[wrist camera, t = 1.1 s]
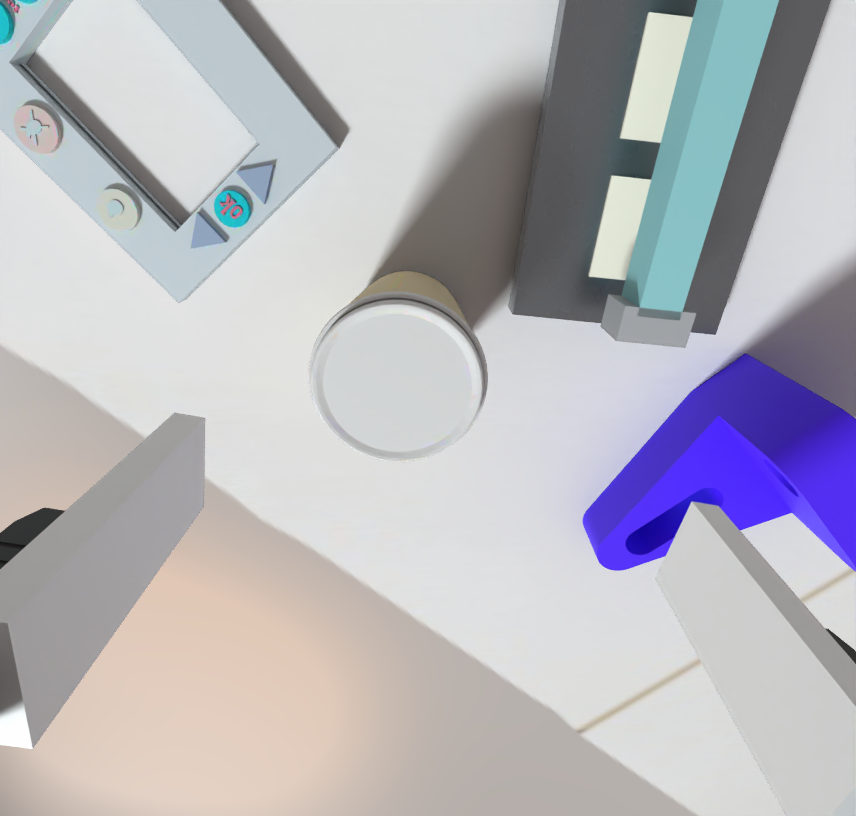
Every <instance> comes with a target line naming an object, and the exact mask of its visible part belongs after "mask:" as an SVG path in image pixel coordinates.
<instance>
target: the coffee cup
mask: <svg viewBox="0 0 856 816" xmlns="http://www.w3.org/2000/svg"><path fill="white" fill-rule="evenodd" d="M487 384H488V373H487V364H486V360H485V356H484V353H483V350H482V347H481V345H480V343H479V341H478V339H477V337H476V336H475V334H474V333H473V331H472V330H471V328H470V327H469V325H468V323H467V321H466V319H465V317H464V315H463V313H462V311H461V309H460V307H459V305H458V303H457V302H456V300H455V298H454V297H453V296H452V294H451V293H450V292H449V290H448V289H447V288H446V287H445V286H444V285H443V284H442V283H440V282H439V281H437V280H436V279H434V278H432V277H430V276H428V275H426V274H423V273H419V272H413V271H399V272H394V273H390V274H388V275H385V276H383V277H381V278H379V279H378V280H376V281H375V282H373V283H372V284H371V285H369V286H368V287H367V288H366V289H365V290H364V291H363V292H362V293H361V294H360V295H358V296H357V297H356V298H355V299H354V300H353V301H352V302H351V303H350V304H349V305H347V306H346V307H345V308H343V309H342V310H341V311H339V312H338V313H337V314H336V315H335V316H334V317H332V318H331V319H330V321H329V322H328V323H327V324H326V325H325V327H324V328H323V330H322V331H321V333H320V334H319V336H318V338H317V340H316V342H315V344H314V347H313V350H312V353H311V358H310V363H309V386H310V392H311V396H312V399H313V402H314V405H315V407H316V409H317V411H318V413H319V415H320V416H321V418H322V420H323V421H324V423H325V424H326V425H327V426H328V428H329V429H330V430H331V432H332V433H333V434H334V435H335V436H336V437H338V438H339V439H340V440H341V441H342V442H343V443H345V444H346V445H348V446H349V447H351V448H352V449H354V450H356V451H358V452H359V453H362V454H364V455H367V456H369V457H373V458H376V459H380V460H385V461H393V462H405V461H414V460H419V459H423V458H427V457H430V456H432V455H435V454H437V453H439V452H441V451H443V450H445V449H446V448H448V447H449V446H451V445H453V444H454V443H455V442H456V441H458V440H459V439H460V438H461V437H462V436H463V435H464V434H465V433H466V432H467V431H468V430H469V429H470V428H471V426H472V425H473V423H474V422H475V420H476V419H477V417H478V415H479V413H480V411H481V409H482V406H483V404H484V400H485V396H486V391H487Z"/></svg>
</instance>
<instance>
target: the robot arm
mask: <svg viewBox="0 0 856 816" xmlns="http://www.w3.org/2000/svg"><path fill="white" fill-rule="evenodd" d="M204 469H205V418H202V417H196V416H191V415H185V414H179V413H174V414H173V415H172V416H171V417H170V418H168V419H167V420H166V421H165V422H164V423H163V424H162V425H161V426H159V427H158V428H157V429H156V430H155V431H154V432H153V433H152V434H151V435H149V436H148V437H147V438H146V439H145V440H144V441H143V442H142V443H141V444H139V445H138V446H137V447H136V448H135V449H134V450H133V451H132V452H130V453H129V454H128V455H127V456H126V457H125V458H124V459H123V460H122V461H121V462H119V463H118V464H117V465H116V466H115V467H114V468H113V469H112V470H110V471H109V472H108V473H107V474H106V475H105V476H104V477H103V478H102V479H101V480H99V481H98V482H97V483H96V484H95V485H94V486H93V487H91V488H90V489H89V490H88V491H87V492H86V493H85V494H84V495H83V496H82V497H80V498H79V499H78V500H77V501H76V502H75V503H74V504H73V505H71V506H70V507H69V508H68V509H67V510H66V511H63V510H57V509H50V508H42V509H40V510H38V511H36V512H34V513H32V514H30V515H27V516H25V517H23V518H21V519H19V520H17V521H15V522H14V523H12V524H11V525H10V526H8V527H7V528H6V529H5V530H3V531H2V532H1V533H0V745H7V746H14V747H22V748H30V749H33V748H34V746H35V745H36V744H37V742H38V741H39V739H40V738H41V736H42V735H43V733H44V732H45V731H46V729H47V728H48V726H49V725H50V723H51V722H52V721H53V719H54V718H55V717H56V715H57V714H58V712H59V711H60V710H61V708H62V707H63V705H64V704H65V702H66V701H67V700H68V698H69V696H70V695H71V694H72V693H73V691H74V690H75V688H76V687H77V685H78V684H79V683H80V681H81V680H82V678H83V677H84V675H85V674H86V673H87V671H88V670H89V668H90V667H91V666H92V664H93V663H94V661H95V660H96V659H97V657H98V656H99V654H100V653H101V651H102V650H103V649H104V647H105V646H106V644H107V643H108V642H109V640H110V639H111V637H112V636H113V634H114V633H115V632H116V630H117V629H118V627H119V626H120V625H121V623H122V622H123V620H124V619H125V617H126V616H127V614H128V613H129V612H130V610H131V609H132V607H133V606H134V605H135V603H136V602H137V600H138V599H139V598H140V596H141V595H142V593H143V592H144V590H145V589H146V588H147V586H148V585H149V584H150V582H151V581H152V579H153V578H154V576H155V575H156V574H157V572H158V571H159V569H160V568H161V567H162V565H163V564H164V562H165V561H166V559H167V558H168V557H169V555H170V554H171V552H172V551H173V549H174V548H175V547H176V545H177V544H178V542H179V541H180V540H181V538H182V537H183V535H184V534H185V532H186V531H187V530H188V528H189V527H190V525H191V524H192V523H193V521H194V519H195V518H196V517H197V516H198V514H199V513H200V511H201V510H202V508H203V507H204ZM655 579H656V581H657V583H658V585H659V587H660V588H661V590H662V592H663V594H664V596H665V597H666V599H667V601H668V603H669V605H670V607H671V608H672V610H673V612H674V614H675V616H676V617H677V619H678V621H679V623H680V625H681V626H682V628H683V630H684V632H685V634H686V636H687V637H688V639H689V641H690V643H691V645H692V646H693V648H694V650H695V652H696V654H697V655H698V657H699V659H700V661H701V663H702V665H703V666H704V668H705V670H706V672H707V674H708V675H709V677H710V679H711V681H712V683H713V684H714V686H715V688H716V690H717V692H718V694H719V695H720V697H721V699H722V701H723V703H724V704H725V706H726V708H727V710H728V712H729V713H730V715H731V717H732V719H733V721H734V723H735V724H736V726H737V728H738V730H739V732H740V733H741V735H742V737H743V739H744V741H745V742H746V744H747V746H748V748H749V750H750V752H751V753H752V755H753V757H754V759H755V761H756V762H757V764H758V766H759V768H760V770H761V771H762V773H763V775H764V777H765V779H766V781H767V782H768V784H769V786H770V788H771V790H772V791H773V793H774V795H775V797H776V799H777V800H778V802H779V804H780V806H781V808H782V810H783V811H784V813H785V815H786V816H856V651H855V650H854V649H853V648H851V647H850V646H849V645H848V644H846V643H845V642H844V641H843V640H841V639H840V638H839V637H838V636H836V635H835V634H834V633H833V632H831V631H830V630H829V629H825V628H824V627H823V626H822V625H821V623H820V622H819V621H818V620H817V619H816V618H815V617H814V615H813V614H812V613H811V612H810V611H809V610H808V608H807V607H806V606H805V605H804V604H803V603H802V602H801V600H800V599H799V598H798V597H797V596H796V595H795V594H794V592H793V591H792V590H791V589H790V588H789V587H788V585H787V584H786V583H785V582H784V581H783V580H782V579H781V577H780V576H779V575H778V574H777V573H776V572H775V570H774V569H773V568H772V567H771V566H770V565H769V564H768V562H767V561H766V560H765V559H764V558H763V557H762V556H761V554H760V553H759V552H758V551H757V550H756V549H755V547H754V546H753V545H752V544H751V543H750V542H749V541H748V539H747V538H746V537H745V536H744V535H743V534H742V532H741V531H740V530H739V529H738V528H737V527H736V526H735V524H734V523H733V522H732V521H731V520H730V519H729V518H728V516H727V515H726V514H725V513H724V512H723V511H722V509H721V508H720V507H719V506H716V505H710V504H705V503H699V502H693V501H692V502H691V504H690V506H689V508H688V510H687V512H686V514H685V517H684V519H683V521H682V523H681V525H680V527H679V529H678V531H677V533H676V535H675V538H674V540H673V542H672V544H671V546H670V548H669V550H668V552H667V554H666V556H665V558H664V561H663V563H662V565H661V567H660V569H659V571H658V573H657V575H656V577H655Z"/></svg>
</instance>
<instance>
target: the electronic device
mask: <svg viewBox="0 0 856 816" xmlns="http://www.w3.org/2000/svg"><path fill="white" fill-rule="evenodd" d="M72 1H73V0H0V130H1V131H2V132H3V133H5V134H6V135H7V136H8V137H9V138H10V139H11V140H12V141H13V142H14V143H15V144H16V145H17V146H18V147H19V148H20V149H21V150H22V151H23V152H24V153H25V154H26V155H27V156H28V157H29V158H30V159H31V160H32V161H33V162H34V163H35V164H36V165H37V166H38V167H39V168H40V169H41V170H43V171H44V172H45V173H46V174H47V175H48V176H49V177H50V178H51V179H52V180H53V181H54V182H55V183H56V184H57V185H58V186H59V187H60V188H61V189H62V190H63V191H64V192H65V193H66V194H67V195H68V196H69V197H70V198H71V199H72V200H73V201H74V202H75V203H76V204H77V205H78V206H80V207H81V208H82V209H83V210H84V211H85V212H86V213H87V214H88V215H89V216H90V217H91V218H92V219H93V220H94V221H95V222H96V223H97V224H98V225H99V226H100V227H101V228H102V229H103V230H104V231H105V232H106V233H107V234H108V235H109V236H110V237H111V238H112V239H113V240H114V241H115V242H117V243H118V244H119V245H120V246H121V247H122V248H123V249H124V250H125V251H126V252H127V253H128V254H129V255H130V256H131V257H132V258H133V259H134V260H135V261H136V262H137V263H138V264H139V265H140V266H141V267H142V268H143V269H144V270H145V271H146V272H147V273H148V274H149V275H150V276H151V277H152V278H153V279H155V280H156V281H157V282H158V283H159V284H160V285H161V286H162V287H163V288H164V289H165V290H166V291H167V292H168V293H169V294H170V295H171V296H172V297H173V298H174V299H175V300H176V301H177V302H178V303H180V302H182V301H184V300H186V299H187V298H188V297H189V296H190V295H191V294H192V293H193V292H194V291H195V290H196V289H197V288H198V287H199V286H200V285H201V284H202V283H203V282H204V281H205V280H206V279H207V278H208V277H209V276H210V275H211V274H212V273H213V272H214V271H215V270H216V269H217V268H218V267H220V266H221V265H222V264H223V263H224V262H225V261H226V260H227V259H228V258H229V257H230V256H231V255H232V254H233V253H234V252H235V251H236V250H237V249H238V248H239V247H240V246H241V245H242V244H243V243H244V242H245V241H246V240H247V239H248V238H249V237H250V236H251V235H252V234H253V233H254V232H255V231H256V230H257V229H258V228H259V227H260V226H261V225H262V224H263V223H264V222H265V221H266V220H267V219H268V218H269V217H270V216H271V215H272V214H273V213H274V212H275V211H276V210H277V209H278V208H279V207H280V206H281V205H282V204H283V203H284V202H286V201H287V200H288V199H289V198H290V197H291V196H292V195H293V194H294V193H295V192H296V191H297V190H298V189H299V188H300V187H301V186H302V185H303V184H304V183H305V182H306V181H307V180H308V179H309V178H310V177H311V176H312V175H313V174H314V173H315V172H316V171H317V170H318V169H319V168H320V167H321V166H322V165H323V164H324V163H325V162H326V161H327V160H328V159H329V158H330V157H331V156H332V155H333V154H334V153H335V152H336V151H337V150H338V149H339V147H338V146H337V144H336V143H335V142H334V141H333V139H332V138H331V137H330V136H329V134H328V133H327V132H326V131H325V129H324V128H323V127H322V126H321V124H320V123H319V122H318V121H317V119H316V118H315V117H314V116H313V114H312V113H311V112H310V111H309V109H308V108H307V107H306V106H305V104H304V103H303V102H302V101H301V99H300V98H299V97H298V96H297V94H296V93H295V92H294V91H293V89H292V88H291V87H290V86H289V84H288V83H287V82H286V81H285V79H284V78H283V77H282V76H281V74H280V73H279V72H278V71H277V69H276V68H275V67H274V66H273V64H272V63H271V62H270V61H269V59H268V58H267V57H266V56H265V54H264V53H263V52H262V51H261V49H260V48H259V47H258V46H257V44H256V43H255V42H254V41H253V39H252V38H251V37H250V36H249V34H248V33H247V32H246V31H245V29H244V28H243V27H242V26H241V24H240V23H239V22H238V21H237V19H236V18H235V17H234V16H233V14H232V13H231V12H230V11H229V9H228V8H227V7H226V6H225V4H224V3H223V2H222V1H221V0H137V1H138V2H139V4H140V5H141V6H142V7H143V8H144V9H145V11H146V12H147V13H148V14H149V15H150V16H151V18H152V19H153V20H154V21H155V22H156V23H157V25H158V26H159V27H160V28H161V29H162V30H163V32H164V33H165V34H166V35H167V36H168V37H169V39H170V40H171V41H172V42H173V43H174V44H175V46H176V47H177V48H178V49H179V50H180V52H181V53H182V54H183V55H184V56H185V57H186V59H187V60H188V61H189V62H190V63H191V64H192V66H193V67H194V68H195V69H196V70H197V71H198V73H199V74H200V75H201V76H202V77H203V78H204V80H205V81H206V82H207V83H208V84H209V85H210V87H211V88H212V89H213V90H214V91H215V92H216V94H217V95H218V96H219V97H220V98H221V100H222V101H223V102H224V103H225V104H226V105H227V107H228V108H229V109H230V110H231V111H232V112H233V114H234V115H235V116H236V117H237V118H238V119H239V121H240V122H241V123H242V124H243V125H244V126H245V128H246V129H247V130H248V131H249V132H250V133H251V135H252V136H253V137H254V138H255V139H256V140H257V142H258V143H259V145H258V146H257V147H256V148H255V149H254V150H253V151H252V152H251V153H250V154H249V155H248V157H247V158H246V159H245V160H244V161H243V162H242V163H241V164H240V165H239V166H238V167H237V168H236V169H235V170H234V171H233V172H232V173H231V174H230V175H229V176H228V177H227V179H226V180H225V181H224V182H223V183H222V184H221V185H220V186H219V187H218V188H217V189H216V190H215V191H214V192H213V193H212V194H211V195H210V196H209V197H208V198H207V200H206V201H205V202H204V203H203V204H202V205H201V206H200V207H199V208H198V209H197V210H196V211H195V212H194V213H193V214H192V215H191V216H190V217H189V218H188V219H187V221H186V222H185V223H184V224H183V225H181V224H180V223H179V222H178V221H177V220H176V219H175V218H174V217H173V216H172V215H171V214H170V213H169V212H168V211H167V210H166V209H165V207H164V206H163V205H162V204H161V203H160V202H159V201H158V200H157V199H156V198H155V197H154V196H153V195H152V194H151V193H150V192H149V191H148V190H147V189H146V188H145V187H144V186H143V185H142V184H141V183H140V182H139V181H138V180H137V178H136V177H135V176H134V175H133V174H132V173H131V172H130V171H129V170H128V169H127V168H126V167H125V166H124V165H123V164H122V163H121V162H120V161H119V160H118V159H117V158H116V157H115V156H114V155H113V154H112V153H111V152H110V151H109V150H108V148H107V147H106V146H105V145H104V144H103V143H102V142H101V141H100V140H99V139H98V138H97V137H96V136H95V135H94V134H93V133H92V132H91V131H90V130H89V129H88V128H87V127H86V126H85V125H84V124H83V123H82V122H81V121H80V119H79V118H78V117H77V116H76V115H75V114H74V113H73V112H72V111H71V110H70V109H69V108H68V107H67V106H66V105H65V104H64V103H63V102H62V101H61V100H60V99H59V98H58V97H57V96H56V95H55V94H54V93H53V92H52V91H51V89H50V88H49V87H48V86H47V85H46V84H45V83H44V82H43V81H42V80H41V79H40V78H39V77H38V76H37V75H36V74H35V73H34V72H33V71H32V70H31V69H30V68H29V67H28V66H27V65H26V63H27V62H28V61H29V59H30V58H31V56H32V55H33V54H34V52H35V51H36V50H37V48H38V47H39V46H40V44H41V43H42V41H43V40H44V39H45V37H46V36H47V35H48V33H49V32H50V31H51V29H52V28H53V27H54V25H55V24H56V22H57V21H58V20H59V18H60V17H61V16H62V14H63V13H64V12H65V10H66V9H67V8H68V6H69V5H70V3H71V2H72Z"/></svg>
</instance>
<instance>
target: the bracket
mask: <svg viewBox="0 0 856 816" xmlns="http://www.w3.org/2000/svg"><path fill="white" fill-rule="evenodd" d="M692 501H693V502H699V503H705V504H710V505H716V506H719V507H720V508H721V509H722V511H723V512H724V513H725V514H726V515H727V516H728V518H729V519H730V520H731V521H732V522H733V523H734V524H735V526H736V527H737V528H738V529H739V530H742V529H745V528H748V527H751V526H754V525H757V524H760V523H763V522H766V521H769V520H772V519H775V518H778V517H780V516H783V515H786V514H789V513H793V514H794V515H795V516H796V517H797V518H798V519H799V520H801V521H802V522H803V523H804V524H805V525H806V526H807V527H808V528H809V529H810V530H811V531H812V532H813V533H814V534H815V535H816V536H817V537H819V538H820V539H821V540H822V541H823V542H824V543H825V544H826V545H827V546H828V547H829V548H830V549H831V550H832V551H833V552H834V553H835V554H836V555H838V556H839V557H840V558H841V559H842V560H843V561H844V562H845V563H846V564H847V565H848V566H849V567H851V568H852V569H853V570H855V571H856V419H855V418H854V417H852V416H851V415H850V414H848V413H847V412H846V411H844V410H843V409H841V408H840V407H838V406H836V405H835V404H833V403H831V402H829V401H828V400H826V399H824V398H822V397H821V396H819V395H817V394H815V393H814V392H812V391H810V390H808V389H807V388H805V387H803V386H802V385H800V384H798V383H796V382H795V381H793V380H791V379H789V378H788V377H786V376H784V375H782V374H781V373H779V372H777V371H775V370H774V369H772V368H770V367H769V366H767V365H765V364H763V363H762V362H760V361H758V360H756V359H755V358H753V357H751V356H749V355H748V354H744V355H743V356H741V357H740V358H739V359H737V360H736V361H734V362H733V363H731V364H730V365H729V366H727V367H726V368H724V369H723V370H721V371H720V372H719V373H717V374H716V375H714V376H713V377H711V378H710V379H709V380H707V381H706V382H704V383H703V384H701V385H700V386H699V387H697V388H696V389H694V390H693V391H691V392H690V394H689V395H688V396H687V397H686V398H685V399H684V400H683V401H682V403H681V404H680V405H679V406H678V407H677V408H676V409H675V411H674V412H673V413H672V414H671V415H670V416H669V417H668V419H667V420H666V421H665V422H664V423H663V424H662V425H661V427H660V428H659V429H658V430H657V431H656V432H655V433H654V435H653V436H652V437H651V438H650V439H649V440H648V441H647V443H646V444H645V445H644V446H643V447H642V448H641V449H640V451H639V452H638V453H637V454H636V455H635V456H634V457H633V458H632V460H631V461H630V462H629V463H628V464H627V465H626V466H625V468H624V469H623V470H622V471H621V472H620V473H619V474H618V476H617V477H616V478H615V479H614V480H613V481H612V482H611V484H610V485H609V486H608V487H607V488H606V489H605V490H604V492H603V493H602V494H601V495H600V496H599V497H598V498H597V500H596V501H595V502H594V503H593V504H592V505H591V506H590V508H589V509H588V510H587V511H586V513H585V514H584V517H583V525H584V528H585V530H586V533H587V535H588V537H589V540H590V542H591V544H592V547H593V549H594V551H595V554H596V556H597V558H598V561H599V562H600V564H601V565H602V566H604V567H605V568H607V569H610V570H625V569H629V568H632V567H635V566H637V565H640V564H643V563H646V562H649V561H652V560H655V559H658V558H661V557H664V556H666V554H667V552H668V550H669V548H670V546H671V544H672V542H673V540H674V538H675V535H676V533H677V531H678V529H679V527H680V525H681V523H682V521H683V519H684V517H685V514H686V512H687V510H688V508H689V506H690V504H691V502H692Z"/></svg>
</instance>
